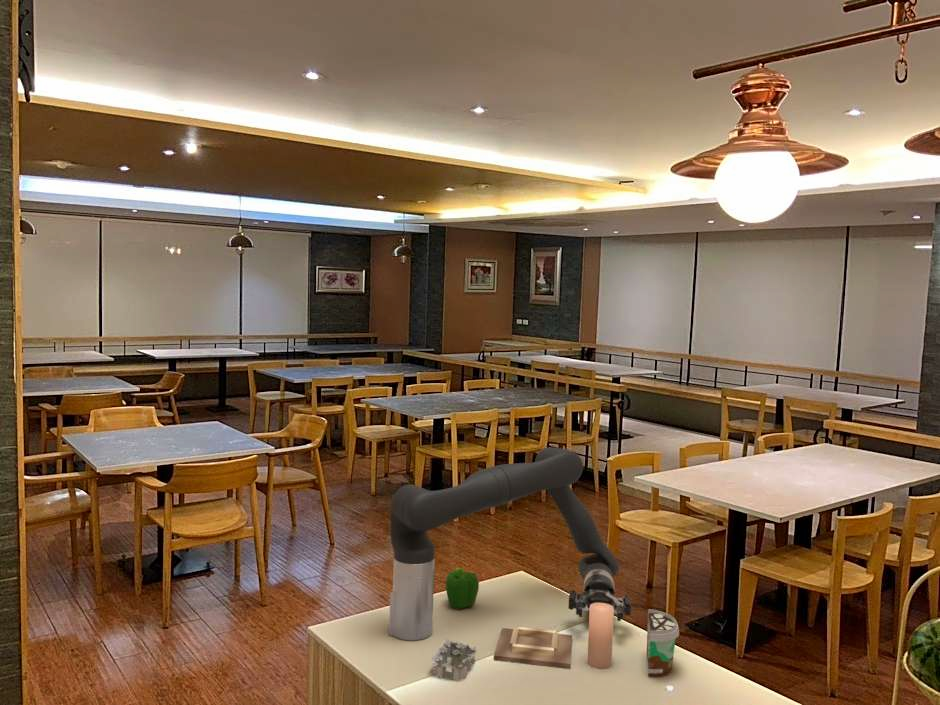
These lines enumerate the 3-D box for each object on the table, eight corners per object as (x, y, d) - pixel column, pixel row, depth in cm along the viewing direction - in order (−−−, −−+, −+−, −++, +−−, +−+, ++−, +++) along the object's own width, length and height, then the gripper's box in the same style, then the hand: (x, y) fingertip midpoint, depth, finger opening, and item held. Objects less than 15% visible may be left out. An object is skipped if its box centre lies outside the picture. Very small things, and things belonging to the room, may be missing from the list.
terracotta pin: (587, 667, 152) (589, 610, 151) (587, 656, 157) (589, 601, 156) (611, 669, 151) (614, 613, 150) (611, 658, 156) (613, 603, 155)
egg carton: (463, 684, 143) (463, 664, 143) (427, 677, 146) (428, 657, 146) (479, 660, 154) (480, 641, 153) (446, 654, 156) (446, 635, 156)
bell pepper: (466, 596, 188) (468, 558, 187) (483, 608, 181) (484, 568, 180) (438, 602, 183) (439, 563, 183) (454, 614, 176) (455, 573, 176)
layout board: (493, 660, 153) (494, 648, 153) (501, 632, 167) (502, 621, 167) (570, 668, 151) (570, 656, 151) (572, 639, 165) (572, 628, 164)
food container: (679, 683, 146) (682, 635, 145) (648, 680, 147) (650, 631, 147) (675, 656, 158) (677, 611, 158) (646, 652, 159) (648, 608, 159)
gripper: (570, 571, 180) (568, 595, 164) (629, 576, 177) (633, 601, 161) (569, 601, 180) (567, 628, 164) (628, 606, 178) (631, 634, 162)
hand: (599, 614), depth 163 cm, fingers open, 8 cm apart
